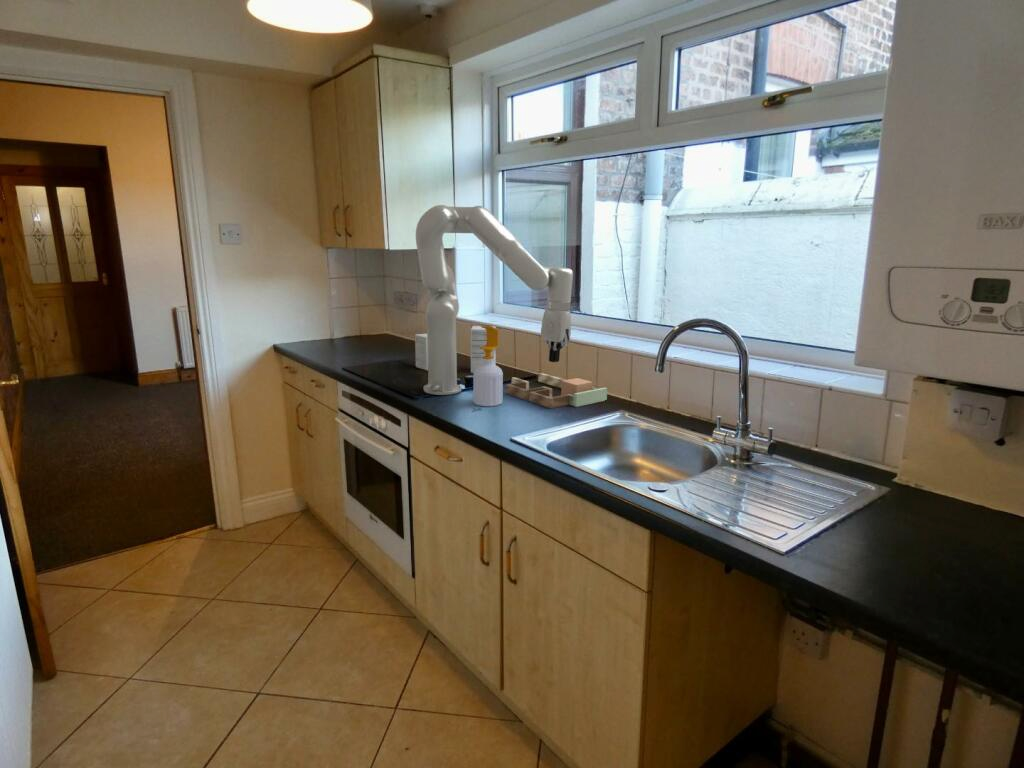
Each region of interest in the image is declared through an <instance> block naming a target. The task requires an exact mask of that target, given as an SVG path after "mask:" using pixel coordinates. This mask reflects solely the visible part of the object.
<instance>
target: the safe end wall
mask: <svg viewBox="0 0 1024 768" xmlns="http://www.w3.org/2000/svg"><path fill="white" fill-rule="evenodd" d="M607 399H608V387H601V388H597V389H594V390H589V391H584V392H579V393H574V406H573V407H575V408H577V407H581V406H586V405H592V404H595V403H601V402H605V400H606V401H607Z"/></svg>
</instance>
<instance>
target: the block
mask: <svg viewBox="0 0 1024 768" xmlns="http://www.w3.org/2000/svg"><path fill="white" fill-rule="evenodd" d="M593 385H594V384H593V381H590V380H588V379H582V378H579V377H574V378H570V379H565V380H564V381H562V387H561V388H560V389H561V390H560V392H561V393H560V396H561V395H566V394H571V395H574V393H579V392H584V391H589V390H592V387H593Z"/></svg>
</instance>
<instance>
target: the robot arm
mask: <svg viewBox="0 0 1024 768" xmlns="http://www.w3.org/2000/svg"><path fill="white" fill-rule="evenodd" d="M444 234H473V235H474V236H475V237H476V238H477V239H478V240H479V241H480V242H481V243H482V244H484V245H485V246H486V247H487V248H488V250H490V251H491V253H492V254H493V255H495V256H496V257H497V259H498V260H499V261H500V262H502V263H503V264H504V265H505V266H507V267H508V269H510V270H511V272H512V273H514V274H515V276H517V277H518V278H519V279H520V280H521V281H522V282H523V284H525V285H526V286H527V287H528V288H530V289H531V290H533V291H542V290H544V289H545V288H547V289H548V290H547V299H546V308H545V309H544V313H543V315H542V320H541V321H542V322H541V328H540V338H542V339H543V342H545V343H546V344H547V346H548V350H549V351H548V353H549V355H548V362H551V363H558V362H560V355H561V354H560V353H561V351H562V349H563V348H564V347H568V346H569V343H568V342H570V340H571V334H572V333H571V332H572V316H571V301H572V289H573V287H572V286H573V278H574V272H573V270H572V268H568V267H560V266H559V267H558V266H557V267H550V266H546V265H541V264H540V263H539V262H538V261H537V260H536V259H535V258H534V257H533V256H532V255H531V254H530V252H528V251H527V250H526V249H525V248H524V246H523V245H522V244H521V242H520V241H519V239H517V237H516V236H515V235H514V234H513V233H512V232H511V231H510V230H509V229H508V228H507V227H506V226H505V225H503V224H502V222H500V221H499V219H498V218H496V217H495V215H494V214H493V213H491V212H490V210H489V209H488V208H486V207H484V206H482V205H475V206H447V205H444V204H439V205H434V206H432V207H431V208H429V209H427V211H425V212H424V213H423V215H421V217H420V218H419V220H418V222H417V224H416V229H415V242H416V243H415V244H416V248H417V249H416V250H417V256H418V257H417V258H418V263H419V268H420V274H421V282H422V284H423V286H424V288H425V289H426V290H427V292H428V297H429V302H428V304H427V307H426V310H425V323H426V333H427V345H428V370H427V372H428V373H427V374H428V375H427V379H428V382H427V384H425V385H424V386H423V392H424V393H425V394H429V395H435V396H445V395H446V396H448V395H455V394H458V393H461V392H462V386H461V385H460V384H458V379H457V378H458V373H457V371H458V368H457V366H458V361H457V360H458V359H457V358H458V357H457V355H458V353H457V351H458V350H457V348H458V347H457V346H458V345H457V322H456V319H457V316H458V313H459V309H460V305H459V297H458V292H457V288H456V280H455V275H454V272H453V270H452V268H451V266H449V264H448V263H447V259H446V253H445V247H444V243H443V237H444Z"/></svg>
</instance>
